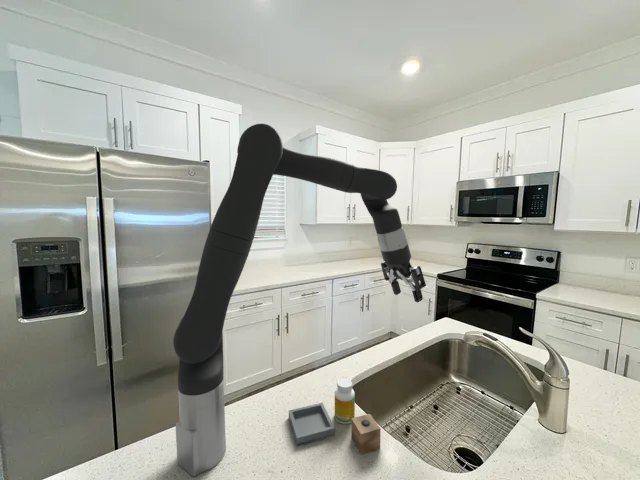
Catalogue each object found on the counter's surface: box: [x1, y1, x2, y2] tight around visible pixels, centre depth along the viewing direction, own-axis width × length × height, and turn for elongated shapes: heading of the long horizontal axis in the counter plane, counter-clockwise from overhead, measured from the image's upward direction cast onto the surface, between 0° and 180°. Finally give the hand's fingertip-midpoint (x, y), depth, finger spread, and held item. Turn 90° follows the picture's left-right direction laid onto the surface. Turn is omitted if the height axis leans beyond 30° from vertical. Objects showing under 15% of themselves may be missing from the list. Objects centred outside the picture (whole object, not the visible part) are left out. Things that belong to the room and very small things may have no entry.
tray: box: [288, 402, 336, 447], centre depth 69 cm, size 10×10×2 cm
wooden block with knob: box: [350, 413, 381, 456], centre depth 64 cm, size 5×5×5 cm
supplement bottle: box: [334, 378, 356, 425], centre depth 72 cm, size 5×5×10 cm
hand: (407, 297), depth 78 cm, fingers open, 8 cm apart
